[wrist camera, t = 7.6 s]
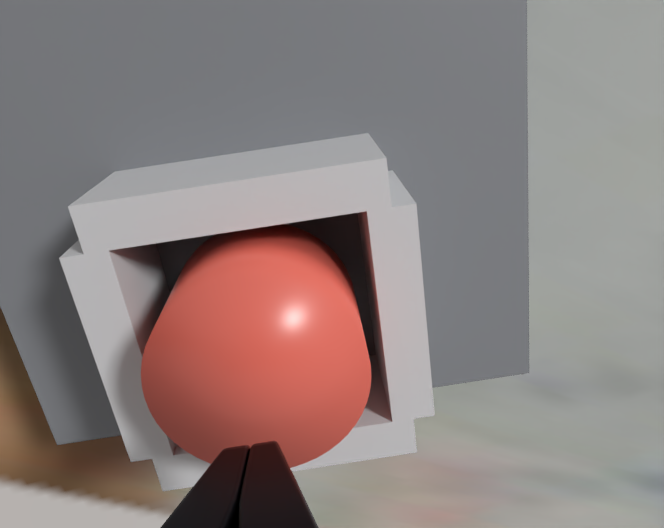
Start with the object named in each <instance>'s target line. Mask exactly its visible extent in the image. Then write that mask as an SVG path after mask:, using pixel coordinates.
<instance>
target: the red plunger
mask: <svg viewBox="0 0 664 528" xmlns="http://www.w3.org/2000/svg"><path fill="white" fill-rule="evenodd" d="M141 383H142V390H143V394H144V398H145V401H146V403H147V406H148V408H149V411H150V413H151V414H152V416H153V418H154V419H155V421H156V423H157V424H158V425H159V427H160V428H161V429H162V430H163V432H164V433H165V434H166V435H167V436H168V437H169V438H170V439H171V440H172V441H173V442H174V443H176V444H177V445H178V446H180V447H181V448H182V449H183V450H185V451H186V452H188V453H190V454H192V455H193V456H195V457H197V458H199V459H201V460H203V461H206V462H208V463H210V464H211V463H212V462H213V461H214V460H215V458H216V457H217V456H218V455H219V453H220V452H221V451H222V450H223V449H225V448H228V447H235V446H241V445H248V446H250V447H251V446H252V445H253V444H255V443H261V442H268V441H276V442H278V444H279V446H280V448H281V450H282V452H283V454H284V456H285V458H286V460H287V462H288V465H289V467H290V468H292V467H295V466H298V465H301V464H304V463H307V462H309V461H311V460H313V459H316V458H318V457H319V456H321V455H323V454H324V453H326V452H328V451H329V450H331V449H332V448H333V447H335V446H336V445H337V444H339V443H340V442H341V441H342V440H343V439H344V438H345V437H346V436H347V435H348V434H349V432H350V431H351V430H352V429H353V427H354V426H355V425H356V423H357V422H358V420H359V418H360V417H361V415H362V413H363V411H364V408H365V406H366V404H367V401H368V397H369V393H370V387H371V363H370V359H369V354H368V349H367V345H366V341H365V336H364V332H363V327H362V323H361V319H360V314H359V310H358V305H357V301H356V296H355V292H354V288H353V283H352V281H351V278H350V275H349V273H348V271H347V269H346V267H345V265H344V264H343V262H342V261H341V260H340V258H339V257H338V255H337V254H336V253H335V252H334V251H333V250H332V249H331V248H330V247H329V246H328V245H327V244H325V243H324V242H323V241H321V240H320V239H319V238H317V237H315V236H314V235H312V234H310V233H309V232H306V231H304V230H302V229H299V228H297V227H293V226H290V225H286V224H280V225H273V226H267V227H260V228H254V229H247V230H241V231H234V232H227V233H221V234H216V235H214V236H212V237H211V238H209V239H208V240H207V241H205V242H204V243H203V244H202V245H201V246H200V247H198V248H197V249H196V250H195V251H194V253H193V254H192V255H191V256H190V258H189V259H188V260H187V262H186V264H185V265H184V267H183V269H182V271H181V273H180V275H179V277H178V279H177V281H176V283H175V285H174V287H173V289H172V291H171V293H170V295H169V297H168V299H167V301H166V304H165V306H164V308H163V310H162V312H161V314H160V316H159V318H158V320H157V322H156V324H155V326H154V328H153V330H152V332H151V334H150V336H149V339H148V341H147V344H146V346H145V349H144V353H143V357H142V363H141Z"/></svg>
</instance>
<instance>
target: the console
mask: <svg viewBox="0 0 664 528" xmlns="http://www.w3.org/2000/svg"><path fill="white" fill-rule="evenodd" d="M280 224H286V225H290V226H293V227H297V228H299V229H302V230H304V231H306V232H309V233H310V234H312V235H314V236H315V237H317V238H319V239H320V240H321V241H323V242H324V243H325V244H327V245H328V246H329V247H330V248H331V249H332V250H333V251H334V252H335V253H336V254H337V255H338V257H339V258H340V260H341V261H342V262H343V264H344V265H345V267H346V269H347V271H348V273H349V275H350V278H351V281H352V283H353V288H354V292H355V296H356V301H357V305H358V310H359V314H360V319H361V323H362V327H363V332H364V336H365V341H366V345H367V349H368V354H369V359H370V363H371V387H370V393H369V397H368V401H367V404H366V406H365V408H364V411H363V413H362V415H361V417H360V418H359V420H358V422H357V423H356V425H355V426H354V427H353V429H352V430H351V431H350V432H349V434H348V435H347V436H346V437H345V438H344V439H343V440H342V441H341V442H340V443H339V444H337V445H336V446H335V447H333V448H332V449H331V450H329V451H328V452H326V453H324V454H323V455H321V456H319V457H318V458H316V459H313V460H311V461H309V462H307V463H304V464H301V465H298V466H295V467H292V468H290V469H291V471H299V470H305V469H312V468H318V467H325V466H331V465H338V464H344V463H351V462H357V461H364V460H370V459H377V458H383V457H390V456H397V455H403V454H410V453H416V452H417V447H416V437H415V428H414V419H415V418H422V417H429V416H435V414H434V402H433V390H432V388H433V387H440V386H446V385H453V384H459V383H466V382H473V381H479V380H486V379H492V378H499V377H505V376H512V375H518V374H525V373H529V257H528V107H527V0H0V307H1V309H2V312H3V314H4V317H5V319H6V322H7V324H8V326H9V329H10V331H11V334H12V336H13V339H14V341H15V343H16V346H17V348H18V351H19V353H20V356H21V358H22V361H23V363H24V365H25V368H26V370H27V373H28V375H29V378H30V380H31V382H32V385H33V387H34V390H35V392H36V395H37V397H38V399H39V402H40V404H41V407H42V409H43V412H44V414H45V417H46V419H47V421H48V424H49V426H50V429H51V431H52V434H53V436H54V438H55V441H56V443H57V445H61V444H67V443H74V442H80V441H87V440H93V439H100V438H106V437H113V436H120V435H122V438H123V441H124V444H125V447H126V450H127V452H128V455H129V458H130V461H131V462H134V461H141V460H148V459H152V460H153V463H154V466H155V469H156V472H157V475H158V478H159V481H160V484H161V487H162V490H163V491H168V490H174V489H181V488H188V487H193V486H194V485H195V484H196V482H197V481H198V480H199V479H200V477H201V476H202V475H203V474H204V472H205V471H206V470H207V469H208V467H209V466H210V465H211V464H210V463H208V462H206V461H203V460H201V459H199V458H197V457H195V456H193V455H192V454H190V453H188V452H186V451H185V450H183V449H182V448H181V447H180V446H178V445H177V444H176V443H174V442H173V441H172V440H171V439H170V438H169V437H168V436H167V435H166V434H165V433H164V432H163V430H162V429H161V428H160V427H159V425H158V424H157V423H156V421H155V419H154V418H153V416H152V414H151V413H150V411H149V408H148V406H147V403H146V401H145V398H144V394H143V390H142V383H141V363H142V357H143V353H144V349H145V346H146V344H147V341H148V339H149V336H150V334H151V332H152V330H153V328H154V326H155V324H156V322H157V320H158V318H159V316H160V314H161V312H162V310H163V308H164V306H165V304H166V301H167V299H168V297H169V295H170V293H171V291H172V289H173V287H174V285H175V283H176V281H177V279H178V277H179V275H180V273H181V271H182V269H183V267H184V265H185V264H186V262H187V260H188V259H189V258H190V256H191V255H192V254H193V253H194V251H195V250H196V249H197V248H198V247H200V246H201V245H202V244H203V243H204V242H205V241H207V240H208V239H209V238H211V237H212V236H214V235H216V234H221V233H227V232H234V231H241V230H247V229H254V228H260V227H267V226H273V225H280Z"/></svg>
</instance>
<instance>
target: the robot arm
mask: <svg viewBox="0 0 664 528" xmlns="http://www.w3.org/2000/svg"><path fill="white" fill-rule="evenodd" d="M161 528H318V526H317V524H316V522H315V520H314V517H313V515H312V513H311V511H310V509H309V507H308V505H307V503H306V501H305V498H304V496H303V494H302V492H301V490H300V488H299V486H298V484H297V482H296V479H295V477H294V475H293V473H292V471H291V469H290V467H289V465H288V462H287V460H286V458H285V456H284V454H283V452H282V450H281V448H280V446H279V444H278V442H276V441H268V442H261V443H255V444H253V445H252V446H251V447H250V446H248V445H241V446H235V447H228V448H225V449H223V450H222V451H221V452H220V453H219V455H218V456H217V457H216V458H215V460H214V461H213V462H212V463H211V465H210V466H209V467H208V469H207V470H206V471H205V472H204V474H203V475H202V476H201V477H200V479H199V480H198V481H197V482H196V484H195V485H194V486H193V487H192V489H191V490H190V491H189V493H188V494H187V495H186V496H185V498H184V499H183V500H182V501H181V503H180V504H179V505H178V506H177V508H176V509H175V510H174V512H173V513H172V514H171V515H170V517H169V518H168V519H167V520H166V522H165V523H164V524H163V525H162V527H161Z"/></svg>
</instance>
